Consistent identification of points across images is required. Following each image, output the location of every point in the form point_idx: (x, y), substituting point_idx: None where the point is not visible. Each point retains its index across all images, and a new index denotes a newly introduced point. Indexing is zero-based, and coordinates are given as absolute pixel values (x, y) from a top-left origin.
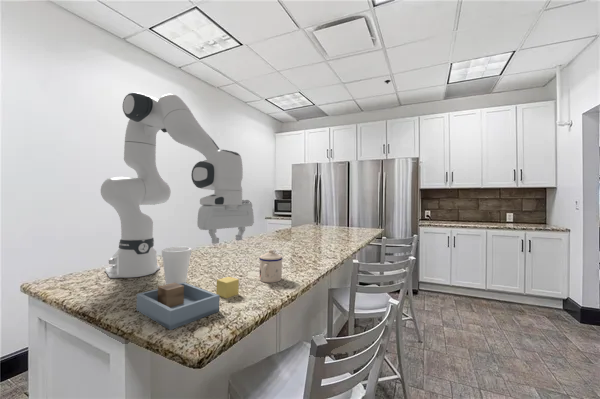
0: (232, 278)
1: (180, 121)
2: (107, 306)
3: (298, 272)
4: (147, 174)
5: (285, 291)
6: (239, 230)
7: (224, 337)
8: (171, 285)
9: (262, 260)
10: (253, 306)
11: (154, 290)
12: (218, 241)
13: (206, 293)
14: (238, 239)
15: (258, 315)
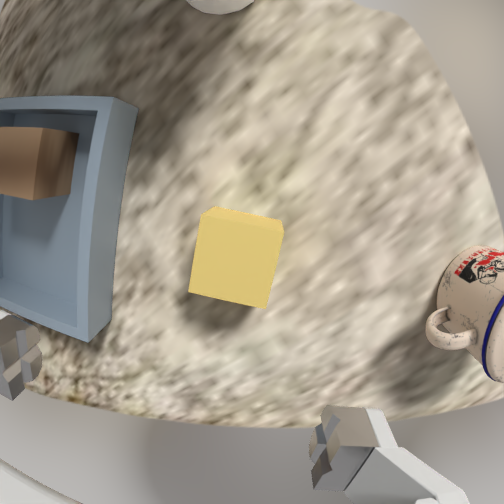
0: (262, 272)
1: None
2: (18, 26)
3: None
4: None
5: (364, 403)
6: (420, 493)
7: (53, 392)
8: (18, 153)
9: (492, 315)
10: (196, 385)
11: (15, 105)
12: (26, 378)
13: (79, 283)
14: (313, 445)
15: (157, 416)
